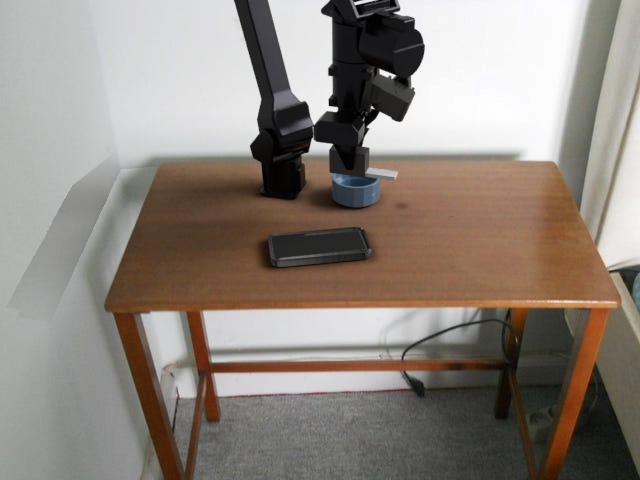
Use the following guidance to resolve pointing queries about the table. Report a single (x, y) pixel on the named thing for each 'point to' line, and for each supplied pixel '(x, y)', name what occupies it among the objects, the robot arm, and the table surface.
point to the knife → (358, 165)
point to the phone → (318, 246)
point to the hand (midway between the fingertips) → (352, 165)
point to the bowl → (355, 190)
